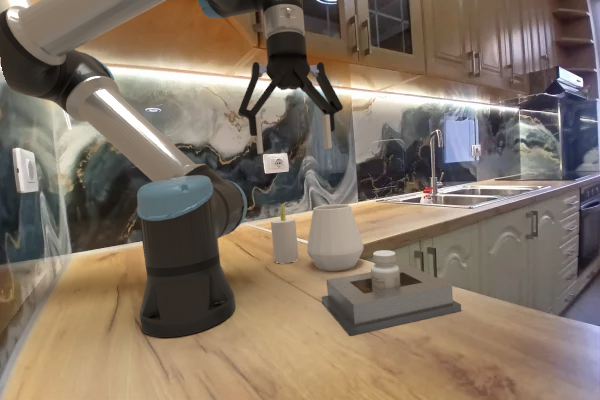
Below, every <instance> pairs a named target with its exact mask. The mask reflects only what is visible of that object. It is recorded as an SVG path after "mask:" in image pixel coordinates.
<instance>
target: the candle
mask: <svg viewBox="0 0 600 400" xmlns="http://www.w3.org/2000/svg"><path fill="white" fill-rule="evenodd" d="M279 213H280V214H279V215H280V216H279V217H280V218H278V219H274V220H273V219H272V220H271V221H270V226H271V238H272V246H273V247H272V248H273V259H274V263H275V262H278V263H289V262H293V261H296V260H297V259H298V258H299V249H298V248H299V247H298V238H297V237H298V236H297V225H296V219H295V218H286V211H285V204H284V203H282V204H281V207H280V212H279ZM296 262H297V261H296ZM278 263H277V264H278ZM289 264H290V263H289Z"/></svg>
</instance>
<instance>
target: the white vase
mask: <svg viewBox="0 0 600 400" xmlns="http://www.w3.org/2000/svg"><path fill="white" fill-rule="evenodd" d="M312 209H313V210H312V215H311V222H310V226H309V227H310V228H309V233H308V239H307V240H308V241H307V244H306V245H307V246H306V248H307V249H306V251H307V254H308V256H309V258H310V259H311V260H312V262H313V263H314V265H315V266H316V268H318V269H320V270H322V269H323V270H322V271H327V270H328V271H330V272H333V271H334V272H338V271H344V270H345V271H346V270H349V269H352V268H354V267H355V266H356V265H357V263H358V261H359V259H360V257H361V255H362V253H363V251H364V248H365V246H364V242H363V239H362V236H361V233H360V231H359V227H358V225H357V222H356V218H355V214H354V212H353V209H352V206H351V205H350V204H342V203H339V204H338V203H337V204H325V205H318V206H316V207H315V206H314V207H313V208H312ZM328 271H327V272H328Z"/></svg>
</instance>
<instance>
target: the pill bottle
mask: <svg viewBox="0 0 600 400" xmlns="http://www.w3.org/2000/svg"><path fill="white" fill-rule="evenodd" d="M396 255H397V254H396V252H395V251H394V250H386V249H385V250H384V249H382V250H376V251H373V254H372V260H373V263H374V264H373V265H372V266H371V268H370V272H371V278H372V292H376V291H381V290H387V289H392V288H397V287H400V271H399V267H400V266H398V265H397V264H395V263H396V262H397V256H396Z"/></svg>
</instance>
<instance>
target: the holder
mask: <svg viewBox="0 0 600 400" xmlns="http://www.w3.org/2000/svg"><path fill="white" fill-rule="evenodd" d="M398 267H399V271H400V287H397V288H392V289H387V290H381V291H376V292H372V278H371V271H369V272H368V271H367V272H363V273H358V274H353V275H348V276H347V275H345V276H340V277H335V278H329V279H326V288H327V289H326V290H327V295H324V296H323V295H322V296H321V303H322V305H323V306H324V307H325V308H326V309H327V310H328V311H329V312H330V314H331V315H332V316H333V318H334V319H335V320H336V321H337V322H338V324H340V327H342V328H343V329H344V330H345V332H346V333H347V334H348V335H349V336H350V337H351V336H356V335H359V334H364V333H369V332H373V331H378V330H381V329H387V328H391V327H396V326H399V325H405V324H408V323H412V322H417V321H422V320H426V319H432V318H435V317H439V316H444V315H448V314H453V313H456V312H457V313H458V312H462V304H461V303H458V302H457V301H455V300H453V297H454V296H453V284H451V283H449V282H446V281H444V280H442V279H440V278H438V277H435V276H434V275H431V274H428V273H427V272H425V271H423V270H420V269H418V268H416V267H413V266H412V265H409V264H408V265H403V266H398Z"/></svg>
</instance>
